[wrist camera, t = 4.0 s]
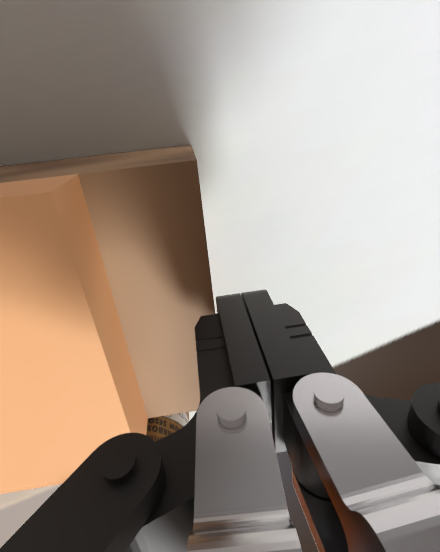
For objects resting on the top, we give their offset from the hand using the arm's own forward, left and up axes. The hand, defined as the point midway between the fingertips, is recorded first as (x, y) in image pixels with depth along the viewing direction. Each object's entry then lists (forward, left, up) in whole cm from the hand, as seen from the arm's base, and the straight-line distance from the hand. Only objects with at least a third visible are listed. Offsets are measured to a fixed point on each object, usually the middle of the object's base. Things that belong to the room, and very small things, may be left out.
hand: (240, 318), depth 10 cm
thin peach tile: (+7, 0, -1) cm, 7 cm away
